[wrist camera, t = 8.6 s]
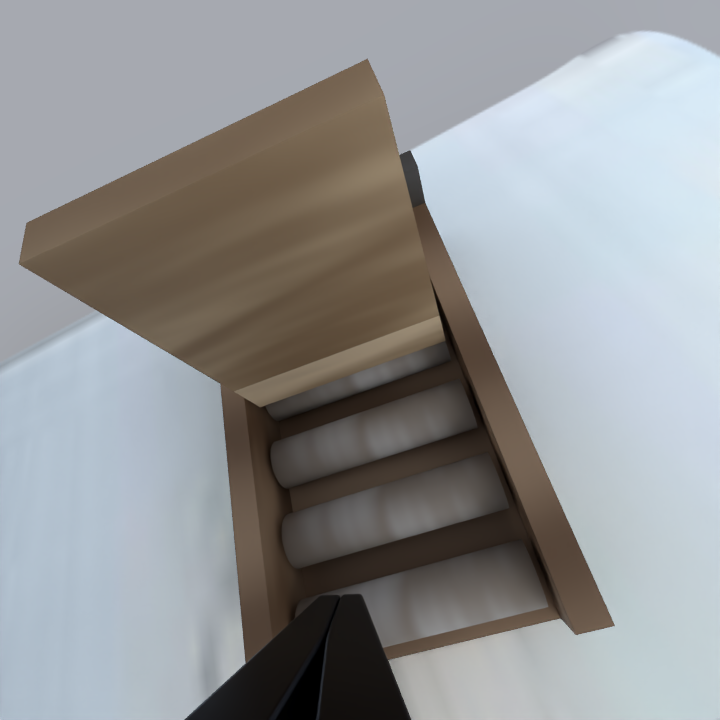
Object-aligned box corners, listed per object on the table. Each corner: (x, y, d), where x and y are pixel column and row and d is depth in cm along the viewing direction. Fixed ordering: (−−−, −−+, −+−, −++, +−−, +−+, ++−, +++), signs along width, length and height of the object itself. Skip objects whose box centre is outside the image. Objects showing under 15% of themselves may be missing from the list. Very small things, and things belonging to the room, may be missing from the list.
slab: (445, 340, 16) (384, 94, 7) (260, 407, 17) (18, 264, 9) (402, 229, 19) (319, -45, 10) (244, 293, 20) (50, 98, 11)
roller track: (589, 608, 14) (637, 640, 9) (298, 678, 15) (209, 737, 11) (429, 238, 22) (410, 150, 17) (248, 310, 23) (183, 249, 19)
